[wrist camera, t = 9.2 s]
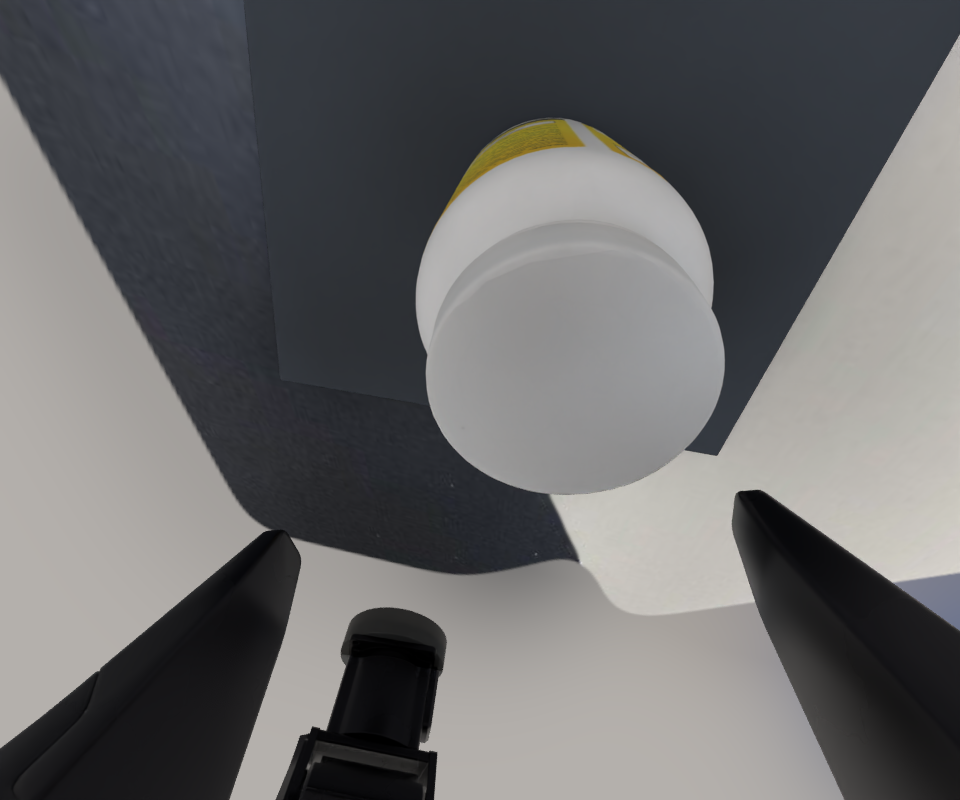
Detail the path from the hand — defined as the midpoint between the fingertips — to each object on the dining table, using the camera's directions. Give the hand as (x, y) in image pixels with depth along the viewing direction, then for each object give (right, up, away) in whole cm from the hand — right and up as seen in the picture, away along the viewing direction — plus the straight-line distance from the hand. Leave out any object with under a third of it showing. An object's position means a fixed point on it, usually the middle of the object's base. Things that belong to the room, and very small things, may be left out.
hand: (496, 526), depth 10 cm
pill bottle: (+2, +9, +7) cm, 12 cm away
